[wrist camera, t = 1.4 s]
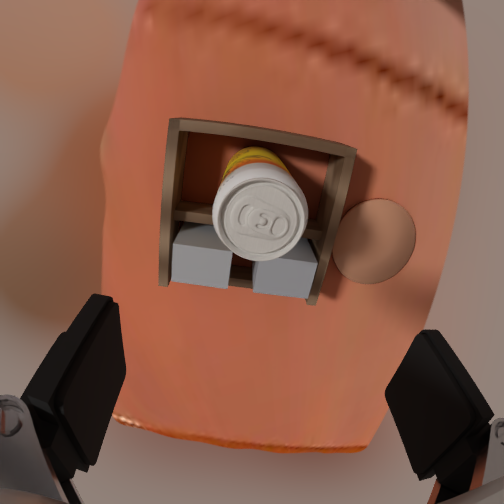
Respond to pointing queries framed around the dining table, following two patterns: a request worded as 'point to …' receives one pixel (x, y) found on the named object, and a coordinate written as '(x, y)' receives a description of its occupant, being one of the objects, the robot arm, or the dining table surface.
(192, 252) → the offcut
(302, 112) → the dining table surface
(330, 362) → the dining table surface
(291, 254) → the offcut
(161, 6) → the dining table surface
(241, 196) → the beer can
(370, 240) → the coaster
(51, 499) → the robot arm
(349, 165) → the rack
